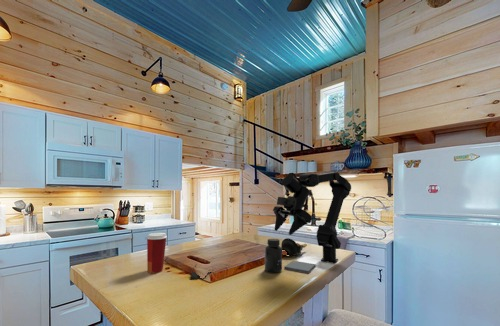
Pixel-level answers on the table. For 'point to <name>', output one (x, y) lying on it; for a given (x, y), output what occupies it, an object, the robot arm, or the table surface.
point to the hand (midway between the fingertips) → (282, 232)
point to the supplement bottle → (273, 256)
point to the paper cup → (155, 252)
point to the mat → (300, 266)
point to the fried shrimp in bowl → (292, 247)
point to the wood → (195, 276)
